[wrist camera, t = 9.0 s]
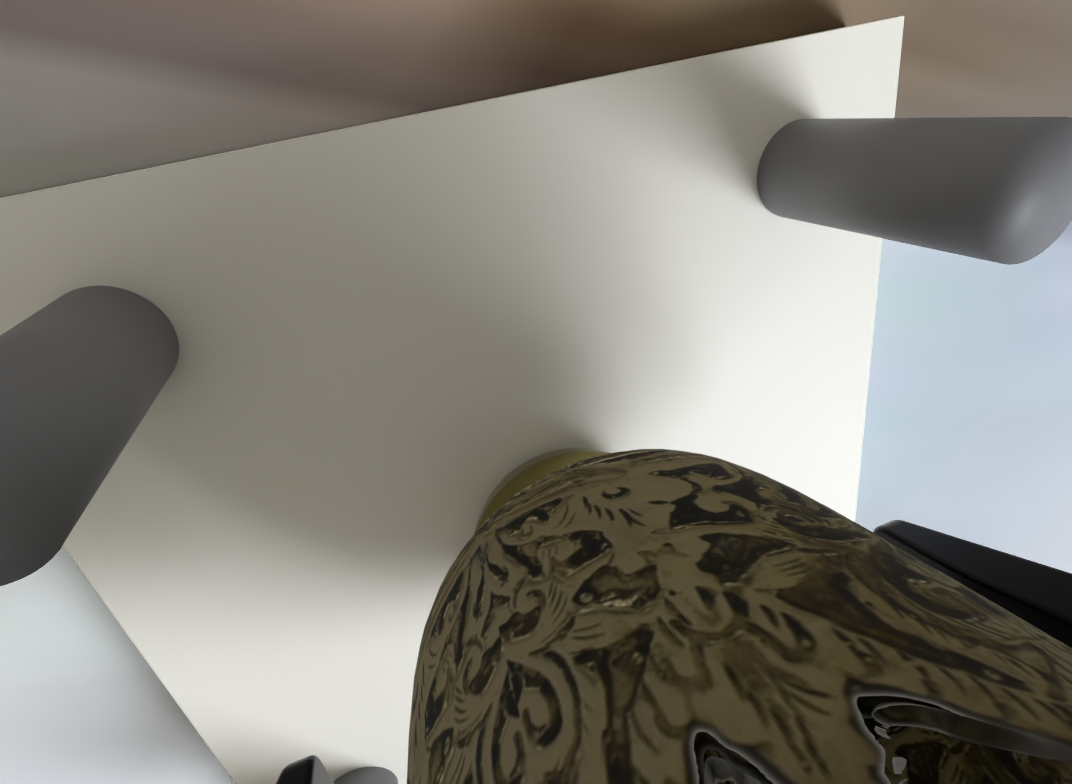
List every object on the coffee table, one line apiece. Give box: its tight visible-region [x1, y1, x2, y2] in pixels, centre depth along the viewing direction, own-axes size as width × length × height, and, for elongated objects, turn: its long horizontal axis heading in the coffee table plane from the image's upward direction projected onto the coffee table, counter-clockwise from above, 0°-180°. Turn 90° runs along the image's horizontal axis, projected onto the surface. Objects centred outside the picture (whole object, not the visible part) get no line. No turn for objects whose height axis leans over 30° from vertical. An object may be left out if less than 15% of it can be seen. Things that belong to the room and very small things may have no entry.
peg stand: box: [0, 16, 1072, 784], centre depth 10 cm, size 15×15×5 cm
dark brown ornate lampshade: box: [407, 447, 1072, 784], centre depth 8 cm, size 8×7×8 cm
